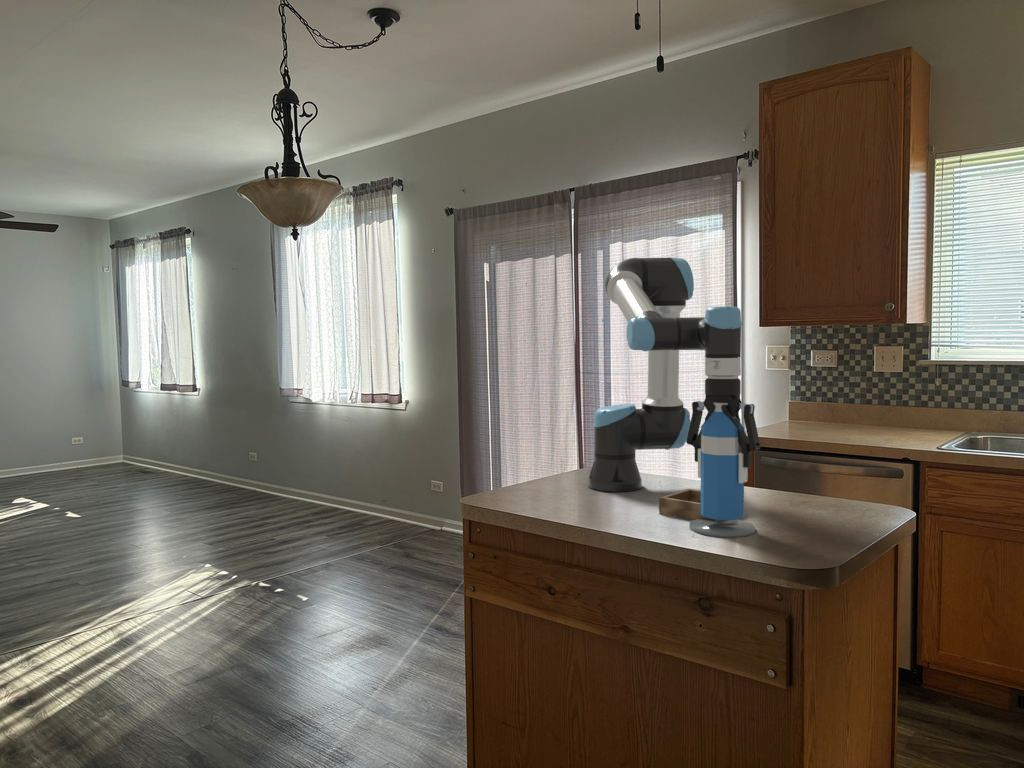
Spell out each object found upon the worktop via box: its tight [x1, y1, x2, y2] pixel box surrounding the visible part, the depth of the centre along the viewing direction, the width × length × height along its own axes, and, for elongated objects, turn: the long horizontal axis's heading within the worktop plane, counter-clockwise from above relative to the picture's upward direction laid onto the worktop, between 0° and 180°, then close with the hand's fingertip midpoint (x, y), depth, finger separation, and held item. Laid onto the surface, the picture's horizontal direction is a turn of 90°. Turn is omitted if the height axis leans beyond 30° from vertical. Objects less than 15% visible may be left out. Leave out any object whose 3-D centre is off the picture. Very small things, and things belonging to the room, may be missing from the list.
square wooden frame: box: [658, 488, 713, 521], centre depth 177 cm, size 14×14×4 cm
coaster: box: [688, 518, 756, 539], centre depth 162 cm, size 14×14×1 cm
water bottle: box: [700, 402, 745, 520], centre depth 161 cm, size 9×9×25 cm
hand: (722, 479), depth 161 cm, fingers closed on water bottle, 9 cm apart
